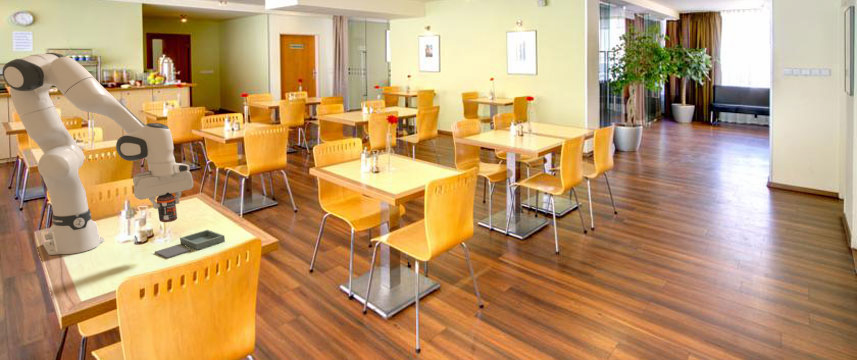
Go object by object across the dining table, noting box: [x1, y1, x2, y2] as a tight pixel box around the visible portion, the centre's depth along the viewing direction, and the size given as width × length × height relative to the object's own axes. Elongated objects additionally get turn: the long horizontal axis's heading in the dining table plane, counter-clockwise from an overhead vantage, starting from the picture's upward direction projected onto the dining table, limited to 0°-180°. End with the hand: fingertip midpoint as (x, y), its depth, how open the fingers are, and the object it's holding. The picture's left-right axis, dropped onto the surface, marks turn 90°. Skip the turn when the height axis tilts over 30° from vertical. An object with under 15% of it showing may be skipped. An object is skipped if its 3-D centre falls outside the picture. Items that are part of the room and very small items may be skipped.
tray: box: [179, 229, 226, 251], centre depth 206 cm, size 12×12×2 cm
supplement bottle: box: [156, 192, 178, 223], centre depth 192 cm, size 6×6×11 cm
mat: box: [154, 244, 192, 260], centre depth 196 cm, size 9×9×1 cm
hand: (166, 205), depth 192 cm, fingers closed on supplement bottle, 6 cm apart
